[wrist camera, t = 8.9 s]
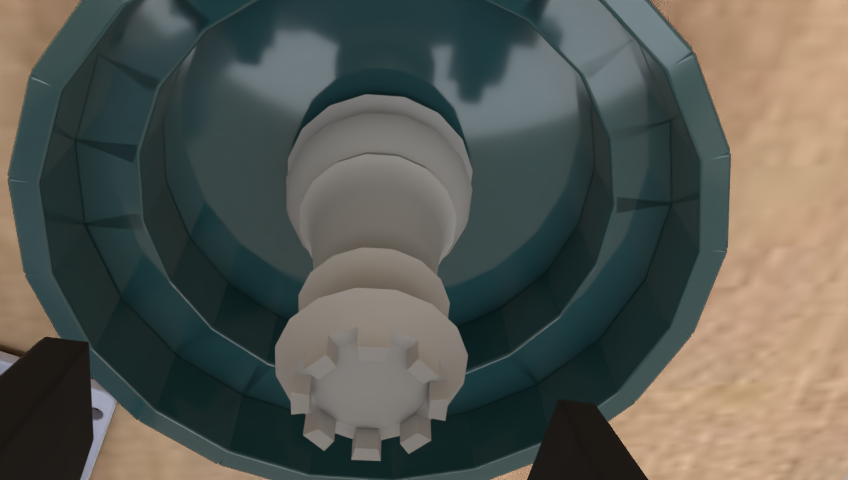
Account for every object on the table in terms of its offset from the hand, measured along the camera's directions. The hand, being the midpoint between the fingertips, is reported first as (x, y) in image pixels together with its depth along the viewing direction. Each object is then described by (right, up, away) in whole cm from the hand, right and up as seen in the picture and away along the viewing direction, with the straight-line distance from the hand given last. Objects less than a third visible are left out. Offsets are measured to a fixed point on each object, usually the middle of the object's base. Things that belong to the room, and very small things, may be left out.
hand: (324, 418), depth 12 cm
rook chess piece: (0, +5, +7) cm, 8 cm away
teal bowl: (0, +5, +7) cm, 9 cm away
